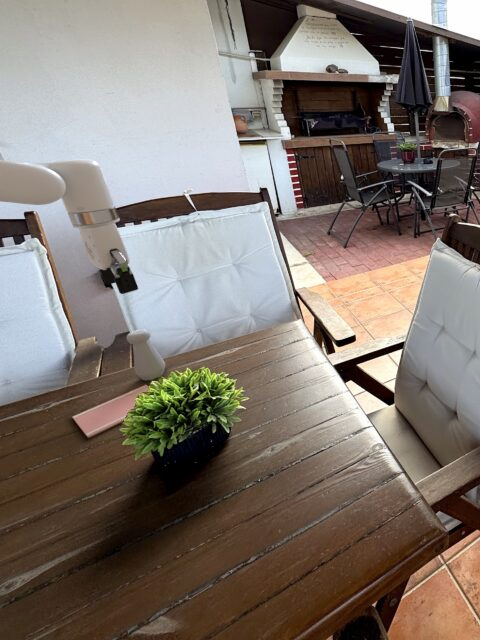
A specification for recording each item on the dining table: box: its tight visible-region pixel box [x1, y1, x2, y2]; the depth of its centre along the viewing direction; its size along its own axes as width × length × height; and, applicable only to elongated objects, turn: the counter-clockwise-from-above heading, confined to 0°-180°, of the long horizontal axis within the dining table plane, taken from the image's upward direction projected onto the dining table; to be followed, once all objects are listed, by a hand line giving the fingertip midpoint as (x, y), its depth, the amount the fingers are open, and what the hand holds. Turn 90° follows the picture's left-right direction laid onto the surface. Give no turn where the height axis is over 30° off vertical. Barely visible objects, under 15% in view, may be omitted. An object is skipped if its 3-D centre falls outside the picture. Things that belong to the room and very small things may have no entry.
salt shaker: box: [126, 328, 166, 381], centre depth 100 cm, size 6×6×13 cm
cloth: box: [72, 384, 149, 439], centre depth 91 cm, size 13×11×1 cm
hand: (121, 286), depth 94 cm, fingers open, 9 cm apart
